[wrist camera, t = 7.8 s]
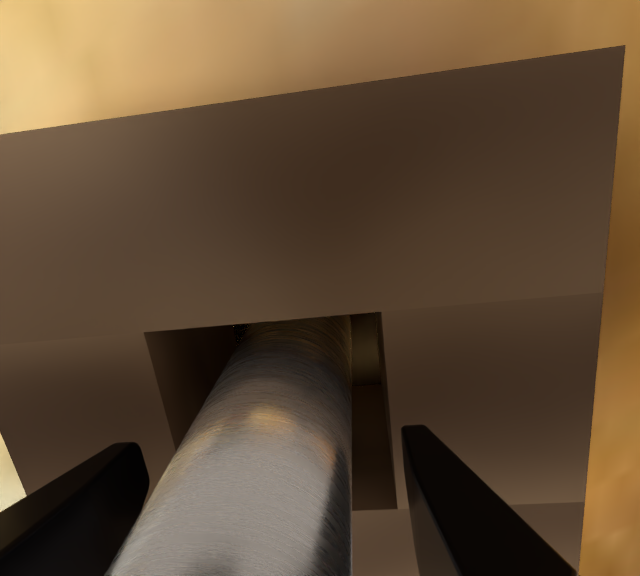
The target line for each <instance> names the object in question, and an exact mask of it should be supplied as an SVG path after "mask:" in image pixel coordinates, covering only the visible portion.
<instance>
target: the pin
mask: <svg viewBox="0 0 640 576" xmlns="http://www.w3.org/2000/svg"><path fill="white" fill-rule="evenodd" d="M104 576H352V365H351V320H350V316H349V314H348V315H337V316H325V317H314V318H302V319H291V320H279V321H267V322H256V323H250V325H249V327H248V328H247V330H246V332H245V334H244V335H243V337H242V339H241V340H240V342H239V344H238V346H237V347H236V349H235V351H234V352H233V354H232V356H231V358H230V359H229V361H228V363H227V365H226V366H225V368H224V370H223V371H222V373H221V375H220V377H219V378H218V380H217V382H216V383H215V385H214V387H213V389H212V390H211V392H210V394H209V396H208V397H207V399H206V401H205V402H204V404H203V406H202V408H201V409H200V411H199V413H198V415H197V416H196V418H195V420H194V421H193V423H192V425H191V427H190V428H189V430H188V432H187V433H186V435H185V437H184V439H183V440H182V442H181V444H180V446H179V447H178V449H177V451H176V452H175V454H174V456H173V458H172V459H171V461H170V463H169V464H168V466H167V468H166V470H165V471H164V473H163V475H162V477H161V478H160V480H159V482H158V483H157V485H156V487H155V489H154V490H153V492H152V494H151V496H150V497H149V499H148V501H147V502H146V504H145V506H144V508H143V509H142V511H141V513H140V514H139V516H138V518H137V520H136V521H135V523H134V525H133V527H132V528H131V530H130V532H129V533H128V535H127V537H126V539H125V540H124V542H123V544H122V545H121V547H120V549H119V551H118V552H117V554H116V556H115V558H114V559H113V561H112V563H111V564H110V566H109V568H108V570H107V571H106V573H105V575H104Z"/></svg>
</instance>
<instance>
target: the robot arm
mask: <svg viewBox="0 0 640 576" xmlns="http://www.w3.org/2000/svg"><path fill="white" fill-rule="evenodd" d="M401 439H402V452H403V465H404V475H405V482H406V489H407V496H408V504H409V511H410V518H411V525H412V532H413V539H414V546H415V553H416V559H417V565H418V569H419V574H420V576H577V571H576V570H575V569H574V568H573V567H572V566H571V565H570V564H569V563H568V562H567V561H566V560H565V559H564V558H563V557H562V556H561V555H560V554H559V553H558V552H557V551H556V550H555V549H554V548H552V547H551V546H550V545H549V544H548V543H547V542H546V541H545V540H544V539H543V538H542V537H541V536H540V535H539V534H538V533H537V532H536V531H535V530H534V529H533V528H532V527H531V526H530V525H529V524H528V523H527V522H525V521H524V520H523V519H522V518H521V517H520V516H519V515H518V514H517V513H516V512H515V511H514V510H513V509H512V508H511V507H510V506H509V505H508V504H507V503H506V502H505V501H504V500H503V499H502V498H501V497H499V496H498V495H497V494H496V493H495V492H494V491H493V490H492V489H491V488H490V487H489V486H488V485H487V484H486V483H485V482H484V481H483V480H482V479H481V478H480V477H479V476H478V475H477V474H476V473H475V472H474V471H472V470H471V469H470V468H469V467H468V466H467V465H466V464H465V463H464V462H463V461H462V460H461V459H460V458H459V457H458V456H457V455H456V454H455V453H454V452H453V451H452V450H451V449H450V448H449V447H448V446H446V445H445V444H444V443H443V442H442V441H441V440H440V439H439V438H438V437H437V436H436V435H435V434H434V433H433V432H432V431H431V430H430V429H429V428H428V427H427V426H425V425H423V424H418V425H404V426H403V427H402V428H401ZM149 484H150V479H149V474H148V470H147V467H146V464H145V460H144V457H143V454H142V450H141V448H140V446H139V444H138V443H136V442H119V443H114V444H112V445H110V446H109V447H107V448H105V449H104V450H102V451H100V452H99V453H97V454H95V455H94V456H92V457H91V458H89V459H87V460H86V461H84V462H82V463H81V464H79V465H77V466H76V467H74V468H72V469H71V470H69V471H67V472H66V473H64V474H63V475H61V476H59V477H58V478H56V479H54V480H53V481H51V482H49V483H48V484H46V485H44V486H43V487H41V488H39V489H38V490H36V491H35V492H33V493H31V494H30V495H28V496H26V497H25V498H23V499H21V500H20V501H18V502H16V503H15V504H13V505H11V506H10V507H8V508H7V509H5V510H3V511H2V512H0V576H104V575H105V573H106V571H107V570H108V568H109V566H110V564H111V563H112V561H113V559H114V558H115V556H116V554H117V552H118V551H119V549H120V547H121V545H122V544H123V542H124V540H125V539H126V537H127V535H128V533H129V532H130V530H131V528H132V527H133V525H134V523H135V521H136V520H137V518H138V516H139V514H140V513H141V511H142V508H143V505H144V502H145V499H146V496H147V493H148V490H149Z"/></svg>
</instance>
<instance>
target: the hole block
mask: <svg viewBox="0 0 640 576" xmlns="http://www.w3.org/2000/svg"><path fill="white" fill-rule="evenodd" d="M624 54H625V45H623V46H616V47H609V48H602V49H595V50H588V51H581V52H574V53H567V54H560V55H553V56H546V57H539V58H532V59H525V60H518V61H511V62H504V63H497V64H490V65H483V66H476V67H469V68H462V69H455V70H448V71H441V72H434V73H427V74H420V75H413V76H406V77H399V78H392V79H385V80H378V81H371V82H365V83H358V84H351V85H344V86H337V87H330V88H323V89H316V90H309V91H302V92H295V93H288V94H281V95H274V96H267V97H260V98H253V99H246V100H239V101H232V102H225V103H218V104H211V105H204V106H197V107H190V108H183V109H176V110H169V111H162V112H155V113H148V114H141V115H134V116H127V117H120V118H113V119H106V120H99V121H92V122H85V123H78V124H71V125H64V126H57V127H50V128H43V129H36V130H29V131H22V132H15V133H8V134H1V135H0V432H1V435H2V437H3V440H4V442H5V444H6V447H7V449H8V452H9V454H10V456H11V459H12V461H13V464H14V466H15V468H16V471H17V473H18V476H19V478H20V480H21V483H22V485H23V488H24V490H25V492H26V495H27V496H28V495H30V494H31V493H33V492H35V491H36V490H38V489H39V488H41V487H43V486H44V485H46V484H48V483H49V482H51V481H53V480H54V479H56V478H58V477H59V476H61V475H63V474H64V473H66V472H67V471H69V470H71V469H72V468H74V467H76V466H77V465H79V464H81V463H82V462H84V461H86V460H87V459H89V458H91V457H92V456H94V455H95V454H97V453H99V452H100V451H102V450H104V449H105V448H107V447H109V446H110V445H112V444H114V443H119V442H136V443H138V444H139V446H140V448H141V450H142V454H143V457H144V460H145V464H146V467H147V470H148V474H149V479H150V484H149V490H148V493H147V496H146V499H145V502H144V505H143V508H144V506H145V504H146V502H147V501H148V499H149V497H150V496H151V494H152V492H153V490H154V489H155V487H156V485H157V483H158V482H159V480H160V478H161V477H162V475H163V473H164V471H165V470H166V468H167V466H168V464H169V463H170V461H171V459H172V458H173V456H174V454H175V452H176V451H177V449H178V447H179V446H180V444H181V442H182V440H183V439H184V437H185V435H186V433H187V432H188V430H189V428H190V427H191V425H192V423H193V421H194V420H195V418H196V416H197V415H198V413H199V411H200V409H201V408H202V406H203V404H204V402H205V401H206V399H207V397H208V396H209V394H210V392H211V390H212V389H213V387H214V385H215V383H216V382H217V380H218V378H219V377H220V375H221V373H222V371H223V370H224V368H225V366H226V365H227V363H228V361H229V359H230V358H231V356H232V354H233V352H234V351H235V349H236V347H237V344H236V339H235V334H234V329H233V324H244V323H256V322H267V321H279V320H291V319H302V318H314V317H325V316H337V315H348V314H360V313H371V312H375V317H376V329H377V340H378V352H379V363H380V375H381V384H377V385H362V386H352V576H420V574H419V569H418V565H417V559H416V553H415V546H414V539H413V532H412V525H411V518H410V511H409V504H408V496H407V489H406V482H405V475H404V465H403V452H402V439H401V428H402V427H403V426H404V425H418V424H423V425H425V426H427V427H428V428H429V429H430V430H431V431H432V432H433V433H434V434H435V435H436V436H437V437H438V438H439V439H440V440H441V441H442V442H443V443H444V444H445V445H446V446H448V447H449V448H450V449H451V450H452V451H453V452H454V453H455V454H456V455H457V456H458V457H459V458H460V459H461V460H462V461H463V462H464V463H465V464H466V465H467V466H468V467H469V468H470V469H471V470H472V471H474V472H475V473H476V474H477V475H478V476H479V477H480V478H481V479H482V480H483V481H484V482H485V483H486V484H487V485H488V486H489V487H490V488H491V489H492V490H493V491H494V492H495V493H496V494H497V495H498V496H499V497H501V498H502V499H503V500H504V501H505V502H506V503H507V504H508V505H509V506H510V507H511V508H512V509H513V510H514V511H515V512H516V513H517V514H518V515H519V516H520V517H521V518H522V519H523V520H524V521H525V522H527V523H528V524H529V525H530V526H531V527H532V528H533V529H534V530H535V531H536V532H537V533H538V534H539V535H540V536H541V537H542V538H543V539H544V540H545V541H546V542H547V543H548V544H549V545H550V546H551V547H552V548H554V549H555V550H556V551H557V552H558V553H559V554H560V555H561V556H562V557H563V558H564V559H565V560H566V561H567V562H568V563H569V564H570V565H571V566H572V567H573V568H574V569H575V570H576V571H577V576H578V572H579V561H580V550H581V539H582V527H583V516H584V505H585V494H586V482H587V471H588V460H589V449H590V437H591V426H592V415H593V404H594V392H595V381H596V370H597V358H598V347H599V336H600V325H601V313H602V302H603V291H604V280H605V268H606V257H607V246H608V235H609V223H610V212H611V201H612V190H613V178H614V167H615V156H616V145H617V133H618V122H619V111H620V99H621V88H622V77H623V66H624ZM143 508H142V509H143Z"/></svg>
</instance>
